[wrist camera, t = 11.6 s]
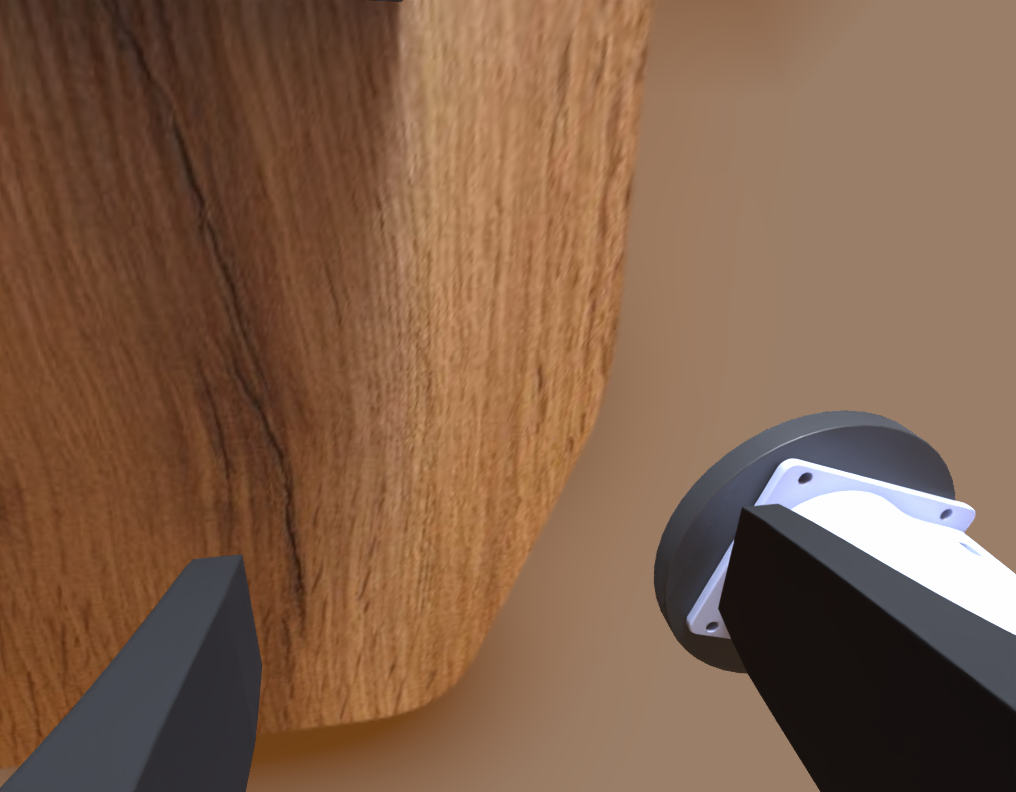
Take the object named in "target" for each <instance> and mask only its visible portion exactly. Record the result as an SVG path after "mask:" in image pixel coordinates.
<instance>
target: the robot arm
mask: <svg viewBox="0 0 1016 792" xmlns="http://www.w3.org/2000/svg"><path fill="white" fill-rule="evenodd" d="M804 473H805V474H804ZM802 474H804V475H803V476H802V477H801V478H799V477H800V476H801V475H802ZM974 518H975V510H974V509H973V508H971V507H970V506H969V505H967V504H965V503H962V502H958V501H954V500H950V499H947V498H943V497H939V496H935V495H931V494H928V493H924V492H920V491H916V490H912V489H909V488H905V487H901V486H897V485H893V484H890V483H886V482H882V481H878V480H875V479H871V478H867V477H863V476H859V475H856V474H852V473H848V472H844V471H840V470H837V469H833V468H829V467H825V466H821V465H818V464H814V463H810V462H806V461H802V460H799V459H788V460H785V461H783V462H782V463H781V464H780V465H779V466H778V467H777V469H776V471H775V472H774V474H773V476H772V477H771V479H770V480H769V482H768V484H767V485H766V487H765V489H764V490H763V492H762V494H761V495H760V497H759V499H758V500H757V502H756V504H755V505H754V506H747V507H742V509H741V513H740V517H739V522H738V526H737V530H736V534H735V538H734V540H733V542H732V543H731V545H730V547H729V548H728V550H727V552H726V553H725V555H724V557H723V558H722V560H721V562H720V563H719V565H718V567H717V568H716V570H715V572H714V573H713V575H712V577H711V578H710V580H709V582H708V583H707V585H706V586H705V588H704V590H703V591H702V593H701V595H700V596H699V598H698V600H697V601H696V603H695V605H694V606H693V608H692V610H691V611H690V613H689V615H688V616H687V619H686V625H687V627H688V628H689V630H690V631H691V632H692V633H694V634H700V635H707V636H714V637H720V638H727V639H731V640H732V642H733V644H734V646H735V648H736V651H737V653H738V655H739V657H740V659H741V661H742V663H743V665H744V667H745V670H746V671H747V673H748V675H749V676H750V678H751V680H752V681H753V683H754V685H755V687H756V688H757V690H758V691H759V693H760V695H761V696H762V698H763V700H764V701H765V703H766V705H767V706H768V708H769V709H770V711H771V713H772V715H773V716H774V717H775V719H776V721H777V723H778V724H779V726H780V727H781V729H782V731H783V732H784V734H785V736H786V737H787V739H788V740H789V742H790V744H791V745H792V747H793V748H794V750H795V751H796V753H797V755H798V756H799V758H800V760H801V761H802V763H803V764H804V766H805V768H806V769H807V771H808V773H809V774H810V776H811V777H812V779H813V781H814V782H815V783H816V785H817V787H818V789H819V790H820V792H1016V574H1015V573H1013V572H1012V571H1011V570H1010V569H1008V568H1007V567H1006V566H1005V565H1003V564H1002V563H1001V562H1000V561H998V560H997V559H996V558H995V557H993V556H992V555H991V554H989V553H988V552H987V551H986V550H984V549H983V548H982V547H980V546H979V545H978V544H977V543H976V542H974V541H973V540H972V539H971V538H969V537H968V536H967V535H966V534H964V532H965V531H966V529H967V528H968V527H969V525H970V524H971V523H972V521H973V520H974ZM261 674H262V662H261V656H260V651H259V645H258V640H257V634H256V628H255V623H254V617H253V612H252V606H251V600H250V595H249V589H248V584H247V578H246V572H245V567H244V561H243V556H242V555H232V556H221V557H211V558H200V559H193V560H192V561H191V562H190V563H189V564H188V565H187V566H186V567H185V568H184V569H183V571H182V572H181V573H180V575H179V576H178V577H177V579H176V580H175V581H174V582H173V584H172V585H171V586H170V588H169V589H168V590H167V592H166V593H165V594H164V596H163V597H162V598H161V600H160V601H159V602H158V604H157V605H156V606H155V607H154V609H153V610H152V611H151V613H150V614H149V615H148V616H147V618H146V619H145V620H144V622H143V623H142V624H141V625H140V627H139V628H138V629H137V630H136V632H135V633H134V634H133V636H132V637H131V638H130V639H129V641H128V642H127V643H126V644H125V646H124V647H123V648H122V649H121V651H120V652H119V653H118V654H117V655H116V657H115V658H114V659H113V660H112V661H111V663H110V664H109V665H108V666H107V667H106V669H105V670H104V671H103V672H102V674H101V675H100V676H99V677H98V678H97V680H96V681H95V682H94V683H93V684H92V686H91V687H90V688H89V689H88V690H87V692H86V693H85V694H84V695H83V696H82V698H81V699H80V700H79V701H78V702H77V703H76V705H75V706H74V707H73V708H72V709H71V710H70V712H69V713H68V714H67V715H66V716H65V717H64V718H63V719H62V720H61V722H60V723H59V724H58V725H57V726H56V727H55V728H54V729H53V730H52V732H51V733H50V734H49V735H48V736H47V737H46V738H45V739H44V740H43V742H42V743H41V744H40V745H39V746H38V747H37V748H36V749H35V750H34V752H33V753H32V754H31V755H30V756H29V757H28V758H27V759H26V760H25V762H24V763H23V764H22V765H21V766H20V767H19V768H18V769H17V770H16V772H15V773H14V774H13V775H12V776H11V777H10V778H9V779H8V780H7V781H6V782H5V783H4V784H3V786H1V788H0V792H245V791H246V787H247V782H248V776H249V772H250V767H251V762H252V757H253V751H254V746H255V740H256V730H257V720H258V709H259V698H260V686H261Z"/></svg>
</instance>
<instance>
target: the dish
mask: <svg viewBox="0 0 1016 792" xmlns="http://www.w3.org/2000/svg"><path fill="white" fill-rule="evenodd" d="M374 1H391V2H401V1H403V0H374Z"/></svg>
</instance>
